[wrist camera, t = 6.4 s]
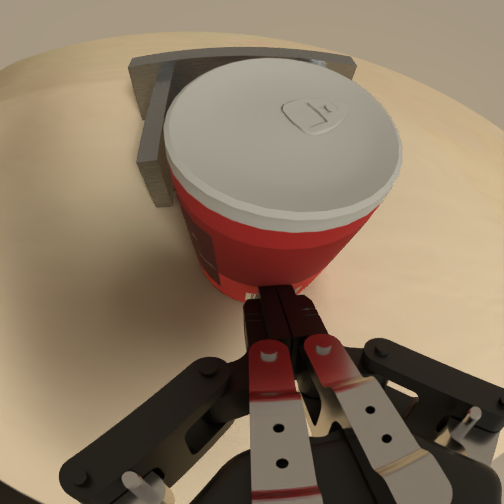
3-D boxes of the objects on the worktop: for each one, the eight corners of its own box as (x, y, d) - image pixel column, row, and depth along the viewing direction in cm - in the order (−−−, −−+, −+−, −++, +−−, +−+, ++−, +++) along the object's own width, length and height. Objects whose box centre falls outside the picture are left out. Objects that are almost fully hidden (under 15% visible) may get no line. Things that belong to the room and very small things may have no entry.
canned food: (342, 244, 19) (430, 131, 8) (264, 335, 16) (317, 292, 6) (257, 176, 20) (275, 40, 10) (174, 251, 18) (115, 123, 7)
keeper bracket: (369, 199, 20) (405, 149, 15) (125, 210, 19) (94, 157, 13) (334, 104, 24) (350, 56, 19) (145, 109, 23) (132, 58, 17)
